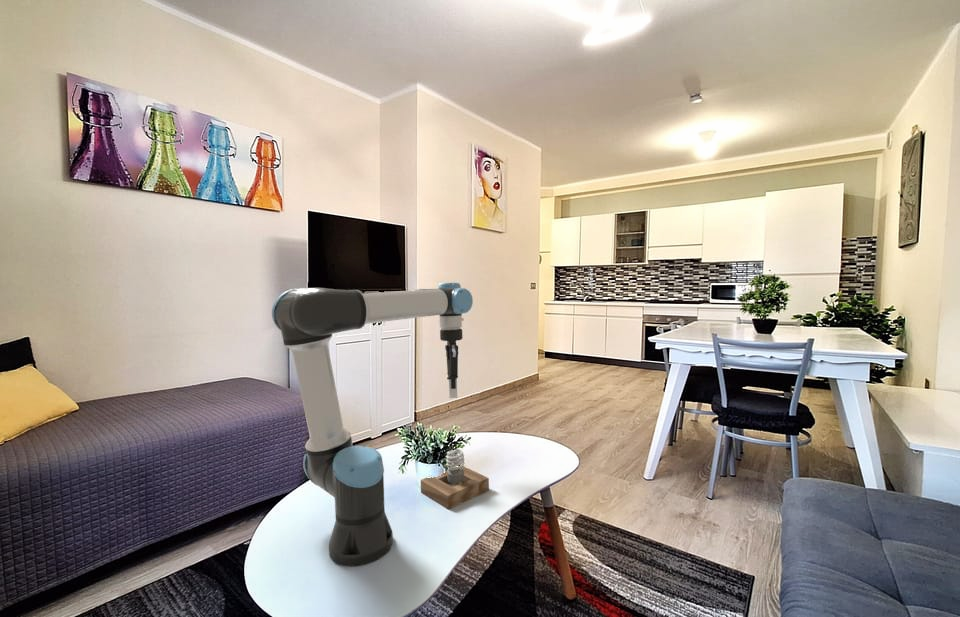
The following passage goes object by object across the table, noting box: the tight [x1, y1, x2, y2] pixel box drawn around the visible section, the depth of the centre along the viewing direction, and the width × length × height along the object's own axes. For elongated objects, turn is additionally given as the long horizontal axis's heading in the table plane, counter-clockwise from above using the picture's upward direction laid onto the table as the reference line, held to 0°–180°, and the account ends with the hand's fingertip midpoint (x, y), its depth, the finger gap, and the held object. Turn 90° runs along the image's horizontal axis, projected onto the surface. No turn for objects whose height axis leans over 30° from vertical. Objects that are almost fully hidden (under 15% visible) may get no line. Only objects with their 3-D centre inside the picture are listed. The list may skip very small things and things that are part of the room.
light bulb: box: [445, 448, 465, 487], centre depth 130 cm, size 6×6×12 cm
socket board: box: [420, 465, 490, 510], centre depth 130 cm, size 16×14×4 cm
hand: (453, 397), depth 142 cm, fingers closed
